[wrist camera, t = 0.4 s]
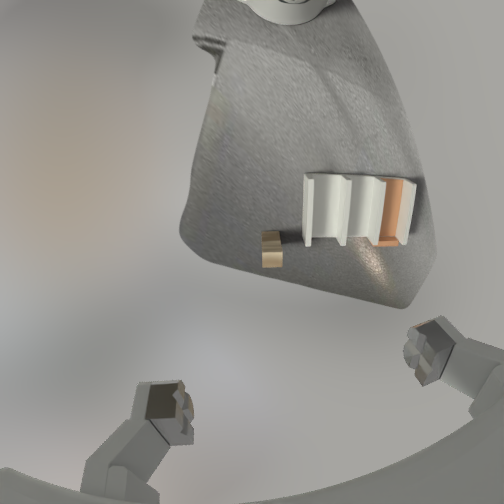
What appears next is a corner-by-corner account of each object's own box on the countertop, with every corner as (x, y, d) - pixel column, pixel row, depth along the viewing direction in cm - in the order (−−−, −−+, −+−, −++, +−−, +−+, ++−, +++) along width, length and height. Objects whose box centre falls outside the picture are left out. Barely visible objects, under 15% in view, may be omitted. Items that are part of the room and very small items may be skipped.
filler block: (261, 231, 58) (262, 252, 50) (278, 231, 57) (282, 252, 50) (261, 244, 59) (262, 267, 51) (278, 244, 59) (282, 266, 51)
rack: (303, 173, 52) (308, 179, 47) (405, 178, 51) (416, 184, 47) (301, 240, 58) (305, 252, 54) (395, 239, 58) (405, 249, 53)
